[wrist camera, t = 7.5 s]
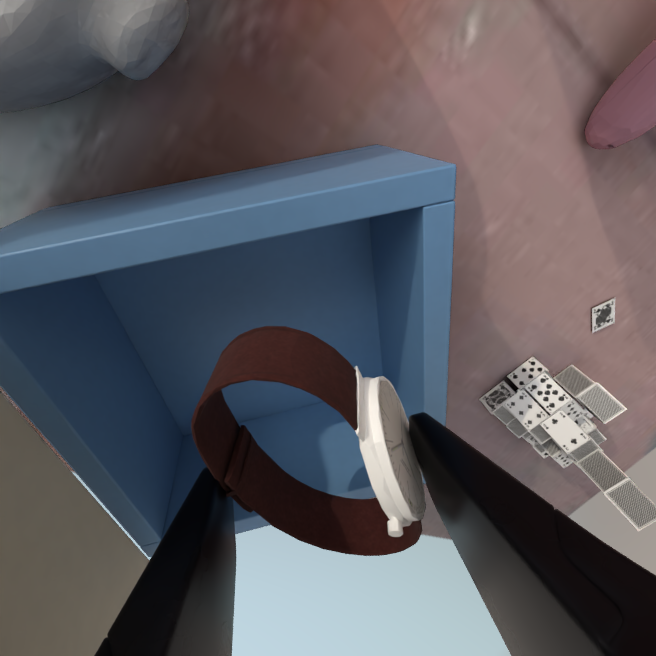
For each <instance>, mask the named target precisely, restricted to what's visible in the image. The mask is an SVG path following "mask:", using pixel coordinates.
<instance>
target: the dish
mask: <svg viewBox="0 0 656 656" xmlns="http://www.w3.org/2000/svg"><path fill="white" fill-rule="evenodd" d="M189 12H190V11H189V6H188V2H187V0H0V113H4V112H12V111H20V110H25V109H30V108H35V107H39V106H44V105H47V104H50V103H54V102H57V101H61V100H64V99H67V98H69V97H72V96H74V95H76V94H78V93H81V92H83V91H85V90H88V89H90V88H92V87H94V86H95V85H97V84H98V83H100V82H102V81H103V80H105V79H107V78H108V77H110V76H112V75H113V74H115V73H116V72H117V71H119V72H121V73H122V74H123V75H125V76H126V77H128V78H130V79H134V80H142V79H146V78H147V77H148V76H150V75H151V74H152V73H153V72H154V71H155V70H157V69H158V68H159V67H160V65H161V64H162V63H163V62H164V61H165V60H166V58H167V57H168V56H169V55H170V54H171V53H172V51H173V50H174V49H175V48H176V46H177V44H178V43H179V41H180V39H181V37H182V35H183V32H184V30H185V28H186V26H187V23H188V17H189Z"/></svg>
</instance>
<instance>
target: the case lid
mask: <svg viewBox="0 0 656 656" xmlns="http://www.w3.org/2000/svg"><path fill="white" fill-rule="evenodd" d="M148 562H149V560H148V559H147V557H146V556H145V555H144V554H143V553H142V552H141V551H140V550H139V549H138V547H137V546H136V545H135V544H134V543H133V542H132V540H131V539H130V538H129V537H128V536H127V535H126V534H125V533H124V531H123V530H122V529H121V528H120V527H119V526H118V524H117V523H116V522H115V521H114V520H113V519H112V518H111V517H110V515H109V514H108V513H107V512H106V511H105V510H104V509H103V508H102V506H101V505H100V504H99V503H98V502H97V501H96V499H95V498H94V497H93V496H92V495H91V494H90V493H89V492H88V490H87V489H86V488H85V487H84V486H83V485H82V484H81V482H80V481H79V480H78V479H77V478H76V477H75V476H74V474H73V473H72V472H71V471H70V470H69V469H68V468H67V467H66V465H65V464H64V463H63V462H62V461H61V460H60V459H59V457H58V456H57V455H56V454H55V453H54V452H53V451H52V450H51V448H50V447H49V446H48V445H47V444H46V443H45V442H44V440H43V439H42V438H41V437H40V436H39V435H38V434H37V432H36V431H35V430H34V429H33V428H32V427H31V426H30V425H29V423H28V422H27V421H26V420H25V419H24V418H23V417H22V415H21V414H20V413H19V412H18V411H17V410H16V409H15V407H14V406H13V405H12V404H11V403H10V402H9V401H8V400H7V398H6V397H5V396H4V395H3V394H2V393H1V392H0V656H94V655H95V653H96V652H97V650H98V648H99V647H100V645H101V643H102V641H103V640H104V638H106V637H108V636H107V634H108V631H109V630H110V628H111V626H112V624H113V623H114V621H115V619H116V618H117V616H118V614H119V612H120V611H121V609H122V607H123V606H124V604H125V602H126V600H127V599H128V597H129V595H130V593H131V592H132V590H133V588H134V587H135V585H136V583H137V581H138V580H139V578H140V576H141V574H142V573H143V571H144V569H145V568H146V566H147V564H148Z"/></svg>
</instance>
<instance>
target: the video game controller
mask: <svg viewBox="0 0 656 656" xmlns="http://www.w3.org/2000/svg"><path fill="white" fill-rule="evenodd" d="M654 126H656V39H655V40H654V41H652V42H651V43H650V44H649V45H648V46H647V47H646V48H645V49H644V50H643V51H642V52H641V53H640V54H639V55H638V56H637V57H636V58H635V59H634V60H633V61H632V62H631V63H630V64H629V65H628V67H627V68H626V69H625V70H624V71H623V72H622V73H621V74H620V75H619V76H618V77H617V79H616V80H615V81H614V82H613V84H612V85H611V86H610V87H609V89H608V90H607V91H606V92H605V94H604V95H603V97H602V98H601V99H600V101H599V102H598V104H597V105H596V106H595V108H594V109H593V112H592V114H591V116H590V118H589V121H588V123H587V125H586V127H585V130H584V131H585V136H586V140H587V143H588V144H589V145H590V146H591V147H593V148H596V149H611V148H615V147H618V146H620V145H622V144H624V143H626V142H629V141H631V140H633V139H635V138H637V137H639V136H641V135H642V134H644V133H645V132H647V131H648V130H650V129H651V128H653V127H654Z"/></svg>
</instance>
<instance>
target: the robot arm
mask: <svg viewBox="0 0 656 656" xmlns="http://www.w3.org/2000/svg"><path fill="white" fill-rule="evenodd" d="M409 434H410V437H411V441H412V444H413V448H414V451H415V454H416V458H417V461H418V464H419V466H420V469H421V472H422V474H423V477H424V480H425V482H426V485H427V488H428V490H429V493H430V495H431V498H432V500H433V502H434V505H435V507H436V509H437V511H438V513H439V515H440V517H441V519H442V521H443V523H444V525H445V526H446V528H447V530H448V532H449V534H450V536H451V538H452V540H453V542H454V544H455V546H456V548H457V550H458V552H459V554H460V556H461V558H462V560H463V562H464V564H465V566H466V568H467V570H468V571H469V573H470V575H471V577H472V579H473V581H474V583H475V585H476V587H477V589H478V591H479V593H480V595H481V597H482V599H483V601H484V603H485V605H486V607H487V609H488V610H489V613H490V615H491V617H492V618H493V621H494V622H495V624H496V626H497V628H498V630H499V632H500V634H501V636H502V638H503V640H504V642H505V644H506V646H507V648H508V650H509V652H510V654H511V656H656V575H654V574H652V573H650V572H649V571H648V570H646V569H644V568H643V567H641V566H640V565H638V564H636V563H635V562H633V561H632V560H630V559H629V558H627V557H626V556H624V555H622V554H621V553H619V552H618V551H616V550H615V549H613V548H612V547H610V546H609V545H607V544H606V543H604V542H603V541H601V540H600V539H598V538H597V537H595V536H594V535H593V534H591V533H589V532H588V531H587V530H586V529H584V528H583V527H581V526H580V525H578V524H577V523H576V522H574V521H573V520H571V519H570V518H569V517H567V516H566V515H565V514H563V513H562V512H561V511H559V510H558V509H555V510H554V507H553V506H552V505H551V504H550V503H548V502H547V501H545V500H544V499H543V498H541V497H540V496H539V495H537V494H536V493H535V492H533V491H532V490H530V489H529V488H528V487H526V486H525V485H524V484H522V483H521V482H520V481H518V480H517V479H516V478H514V477H513V476H511V475H510V474H509V473H507V472H506V471H505V470H503V469H502V468H501V467H499V466H498V465H496V464H495V463H494V462H492V461H491V460H490V459H488V458H487V457H486V456H484V455H483V454H481V453H480V452H479V451H477V450H476V449H475V448H473V447H472V446H471V445H469V444H468V443H467V442H465V441H464V440H462V439H461V438H460V437H458V436H457V435H456V434H454V433H453V432H452V431H450V430H449V429H447V428H446V427H445V426H443V425H442V424H441V423H439V422H438V421H437V420H435V419H434V418H433V417H431V416H430V415H428V414H427V413H425V412H420V413H417V414H413V415H410V416H409ZM225 493H226V492H225V490H224V489H223V488H222V487H221V485H220V483H219V481H218V480H216V479H215V478H214V476H213V475H212V473H211V472H210V470H209V469H208V467H205V468H204V469H203V470H202V471H201V473H200V474H199V476H198V478H197V480H196V481H195V483H194V485H193V487H192V488H191V490H190V492H189V493H188V495H187V497H186V499H185V500H184V502H183V504H182V506H181V507H180V509H179V511H178V512H177V514H176V516H175V518H174V519H173V521H172V523H171V524H170V526H169V528H168V530H167V531H166V533H165V535H164V537H163V538H162V540H161V542H160V543H159V545H158V547H157V549H156V550H155V552H154V554H153V556H152V557H151V559H150V561H149V562H148V564H147V566H146V568H145V569H144V571H143V573H142V574H141V576H140V578H139V580H138V581H137V583H136V585H135V587H134V588H133V590H132V592H131V593H130V595H129V597H128V599H127V600H126V602H125V604H124V606H123V607H122V609H121V611H120V612H119V614H118V616H117V618H116V619H115V621H114V623H113V624H112V626H111V628H110V630H109V631H108V634H107V636H108V637H106V638H104V640H103V641H102V643H101V645H100V647H99V648H98V650H97V652H96V653H95V655H94V656H232V635H233V616H234V596H235V575H236V541H235V523H234V506H233V498H232V497H231V496H230V497H227V496H226V494H225Z"/></svg>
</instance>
